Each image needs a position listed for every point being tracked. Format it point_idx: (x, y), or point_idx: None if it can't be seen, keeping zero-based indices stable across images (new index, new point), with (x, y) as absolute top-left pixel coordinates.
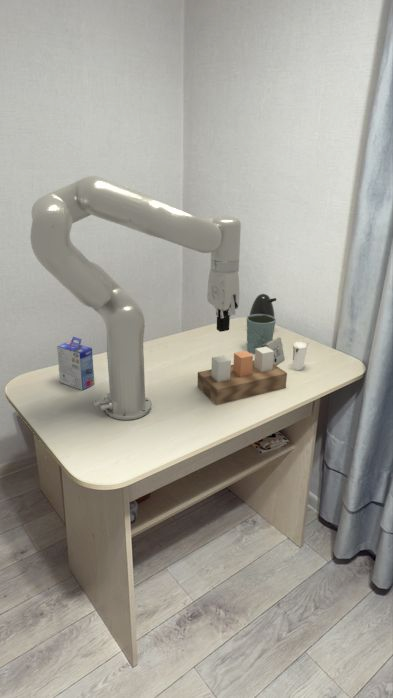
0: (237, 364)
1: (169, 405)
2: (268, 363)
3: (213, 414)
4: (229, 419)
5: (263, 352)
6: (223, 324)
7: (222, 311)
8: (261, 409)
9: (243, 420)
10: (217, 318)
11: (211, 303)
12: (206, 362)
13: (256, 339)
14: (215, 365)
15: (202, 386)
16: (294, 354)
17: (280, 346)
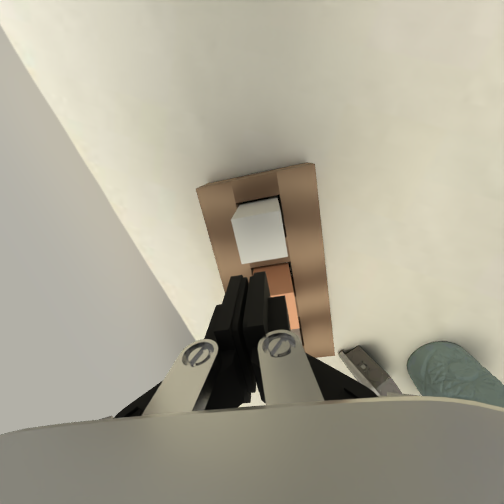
0: (269, 280)
1: (228, 51)
2: None
3: (168, 163)
4: (144, 192)
5: None
6: (210, 322)
7: (152, 412)
8: (176, 267)
9: (138, 219)
10: (252, 318)
11: (319, 420)
12: (435, 228)
13: (441, 380)
14: (253, 211)
15: (279, 169)
16: None
17: None
